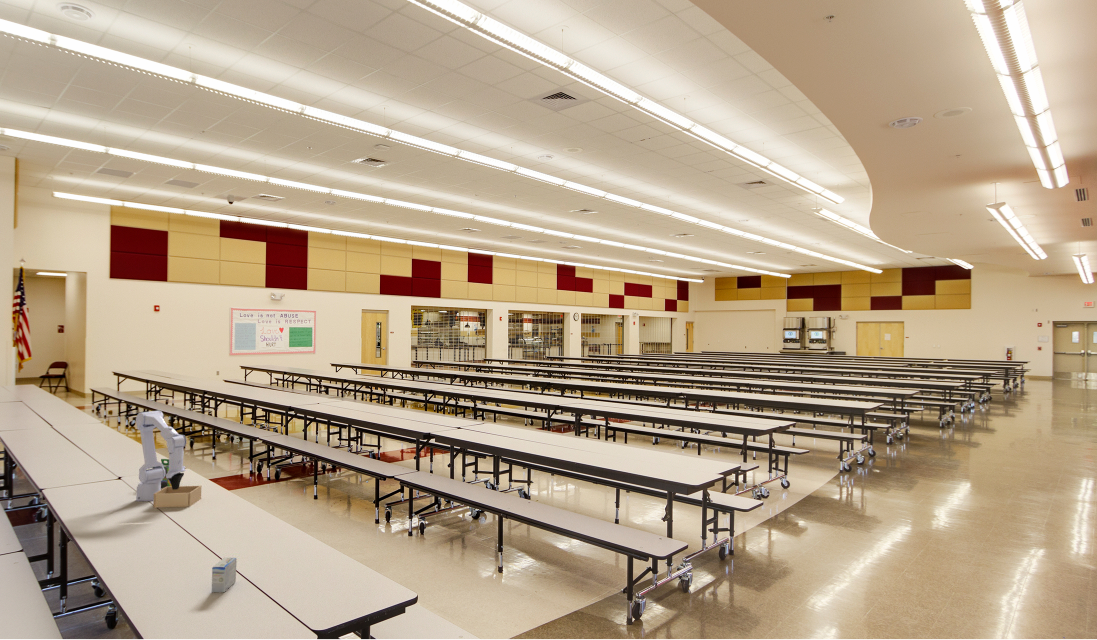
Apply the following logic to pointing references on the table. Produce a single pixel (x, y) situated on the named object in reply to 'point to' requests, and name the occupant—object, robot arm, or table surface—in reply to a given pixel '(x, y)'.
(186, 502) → the flap
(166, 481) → the chalk box
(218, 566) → the medicine box
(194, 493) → the carton
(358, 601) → the table surface
